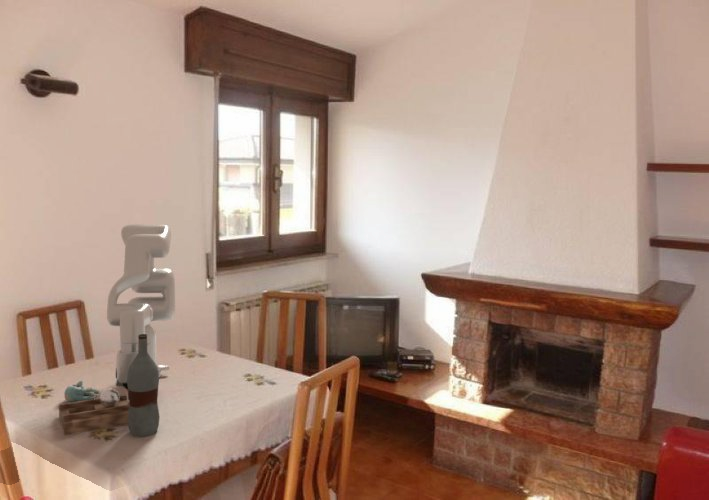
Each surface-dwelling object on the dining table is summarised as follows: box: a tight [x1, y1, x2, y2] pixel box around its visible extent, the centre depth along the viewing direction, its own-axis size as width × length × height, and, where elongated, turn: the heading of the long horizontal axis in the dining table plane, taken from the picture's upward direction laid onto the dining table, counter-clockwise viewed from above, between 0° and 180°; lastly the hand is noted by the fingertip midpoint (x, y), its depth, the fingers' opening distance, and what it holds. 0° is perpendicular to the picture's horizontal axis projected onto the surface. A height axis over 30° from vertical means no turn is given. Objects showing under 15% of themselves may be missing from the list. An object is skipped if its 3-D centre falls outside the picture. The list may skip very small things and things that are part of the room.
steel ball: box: [99, 387, 121, 408], centre depth 190 cm, size 6×6×6 cm
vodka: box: [127, 334, 160, 438], centre depth 179 cm, size 9×9×30 cm
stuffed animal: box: [64, 380, 101, 403], centre depth 206 cm, size 11×7×12 cm
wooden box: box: [58, 394, 130, 436], centre depth 188 cm, size 20×16×5 cm
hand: (133, 401), depth 194 cm, fingers closed
